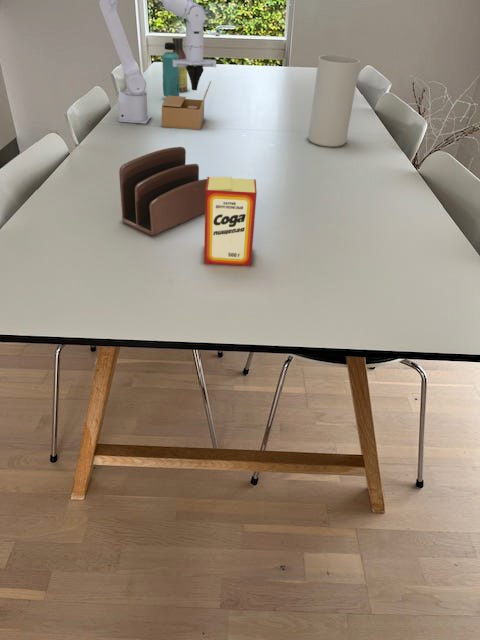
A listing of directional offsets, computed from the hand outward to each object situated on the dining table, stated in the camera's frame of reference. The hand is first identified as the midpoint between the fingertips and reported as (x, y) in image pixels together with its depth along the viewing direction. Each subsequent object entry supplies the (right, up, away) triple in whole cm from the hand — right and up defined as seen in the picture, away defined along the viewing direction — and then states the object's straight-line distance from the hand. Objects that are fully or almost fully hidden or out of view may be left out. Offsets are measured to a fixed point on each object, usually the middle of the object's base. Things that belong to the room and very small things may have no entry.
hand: (194, 89), depth 184 cm
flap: (+4, -3, -4) cm, 7 cm away
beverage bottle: (-11, +7, +26) cm, 29 cm away
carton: (-4, -11, +2) cm, 12 cm away
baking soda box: (+13, -66, -73) cm, 100 cm away
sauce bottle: (-9, +16, +38) cm, 42 cm away
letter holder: (-1, -55, -59) cm, 81 cm away
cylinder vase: (+44, -20, -6) cm, 49 cm away
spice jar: (-1, -11, +1) cm, 11 cm away
